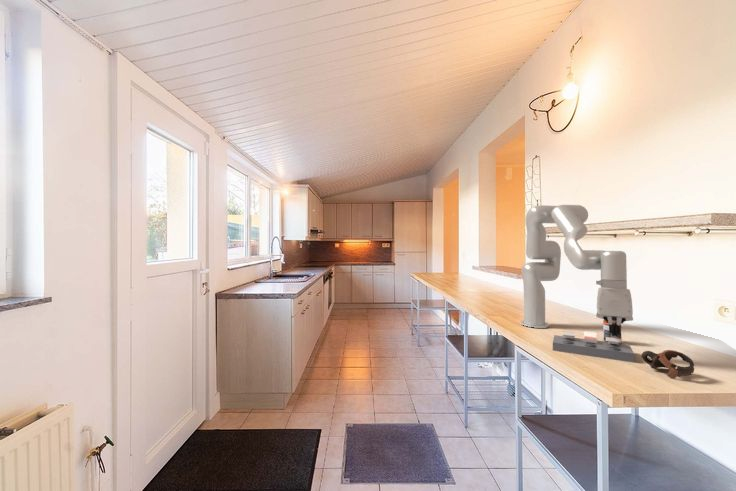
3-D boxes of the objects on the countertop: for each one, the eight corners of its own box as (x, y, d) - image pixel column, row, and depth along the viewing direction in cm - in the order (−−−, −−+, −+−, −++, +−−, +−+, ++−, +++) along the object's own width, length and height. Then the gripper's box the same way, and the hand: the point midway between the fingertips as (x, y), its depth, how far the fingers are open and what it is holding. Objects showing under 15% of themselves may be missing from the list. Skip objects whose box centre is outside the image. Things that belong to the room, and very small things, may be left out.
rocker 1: (562, 337, 130) (562, 332, 130) (574, 339, 127) (574, 333, 128) (562, 336, 125) (562, 331, 125) (574, 338, 123) (574, 332, 123)
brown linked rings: (686, 373, 101) (697, 354, 97) (686, 395, 95) (698, 377, 91) (638, 355, 108) (646, 338, 104) (635, 375, 102) (644, 357, 98)
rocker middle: (583, 336, 126) (583, 331, 126) (596, 337, 124) (596, 332, 124) (584, 343, 122) (584, 338, 121) (597, 345, 119) (597, 339, 119)
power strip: (554, 342, 132) (554, 334, 132) (629, 352, 119) (629, 343, 119) (552, 350, 122) (552, 341, 122) (634, 362, 109) (634, 352, 109)
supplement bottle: (615, 340, 135) (615, 313, 135) (625, 344, 129) (624, 316, 129) (600, 339, 136) (599, 313, 136) (609, 344, 130) (609, 316, 130)
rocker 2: (606, 342, 122) (605, 337, 122) (619, 344, 120) (619, 338, 120) (607, 343, 117) (607, 336, 118) (621, 344, 115) (620, 338, 115)
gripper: (589, 284, 118) (589, 334, 118) (642, 286, 110) (643, 340, 110) (588, 282, 124) (589, 330, 124) (638, 284, 116) (639, 335, 116)
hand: (614, 335), depth 117 cm, fingers closed
